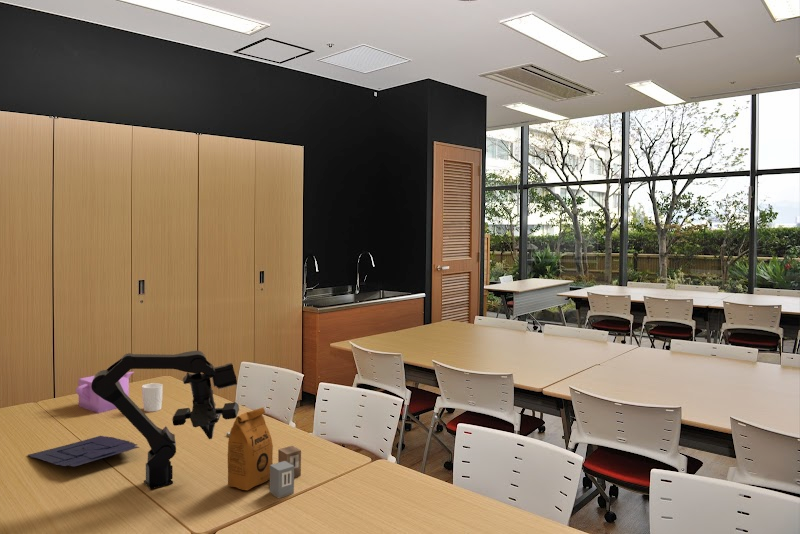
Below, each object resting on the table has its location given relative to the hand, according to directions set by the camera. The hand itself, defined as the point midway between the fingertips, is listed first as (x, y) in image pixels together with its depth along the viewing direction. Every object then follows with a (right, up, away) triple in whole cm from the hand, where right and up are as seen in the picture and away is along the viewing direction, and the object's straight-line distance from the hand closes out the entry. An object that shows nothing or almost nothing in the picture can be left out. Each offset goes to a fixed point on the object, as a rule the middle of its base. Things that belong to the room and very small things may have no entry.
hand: (210, 438), depth 180 cm
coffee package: (+14, -12, -6) cm, 19 cm away
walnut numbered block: (+24, -11, +1) cm, 27 cm away
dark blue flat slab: (-44, -10, +11) cm, 47 cm away
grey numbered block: (+24, -12, -11) cm, 29 cm away
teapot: (-65, -6, +66) cm, 93 cm away
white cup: (-44, -6, +62) cm, 76 cm away
